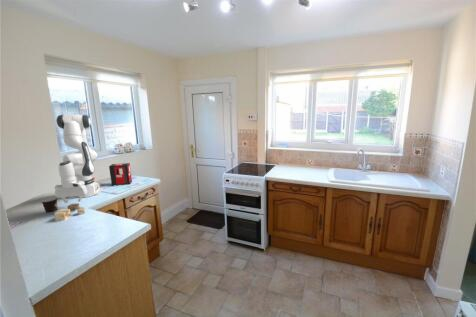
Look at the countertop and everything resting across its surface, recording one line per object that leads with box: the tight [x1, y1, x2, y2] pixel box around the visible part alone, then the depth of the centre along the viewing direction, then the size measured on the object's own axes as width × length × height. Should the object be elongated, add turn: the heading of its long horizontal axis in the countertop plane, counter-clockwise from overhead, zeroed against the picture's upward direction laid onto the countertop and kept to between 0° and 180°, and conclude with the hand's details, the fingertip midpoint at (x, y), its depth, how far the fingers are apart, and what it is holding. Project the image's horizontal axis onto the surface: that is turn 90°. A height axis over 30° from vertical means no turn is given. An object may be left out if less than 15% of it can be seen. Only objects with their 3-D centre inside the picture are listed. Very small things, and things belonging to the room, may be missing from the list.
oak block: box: [53, 208, 72, 221], centre depth 149 cm, size 6×6×5 cm
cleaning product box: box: [108, 162, 133, 187], centre depth 223 cm, size 16×9×20 cm, turn 102°
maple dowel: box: [76, 206, 86, 216], centre depth 156 cm, size 4×4×4 cm
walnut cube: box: [66, 202, 81, 212], centre depth 163 cm, size 5×5×5 cm
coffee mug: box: [41, 196, 58, 214], centre depth 163 cm, size 12×9×10 cm
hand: (73, 201), depth 162 cm, fingers open, 8 cm apart
